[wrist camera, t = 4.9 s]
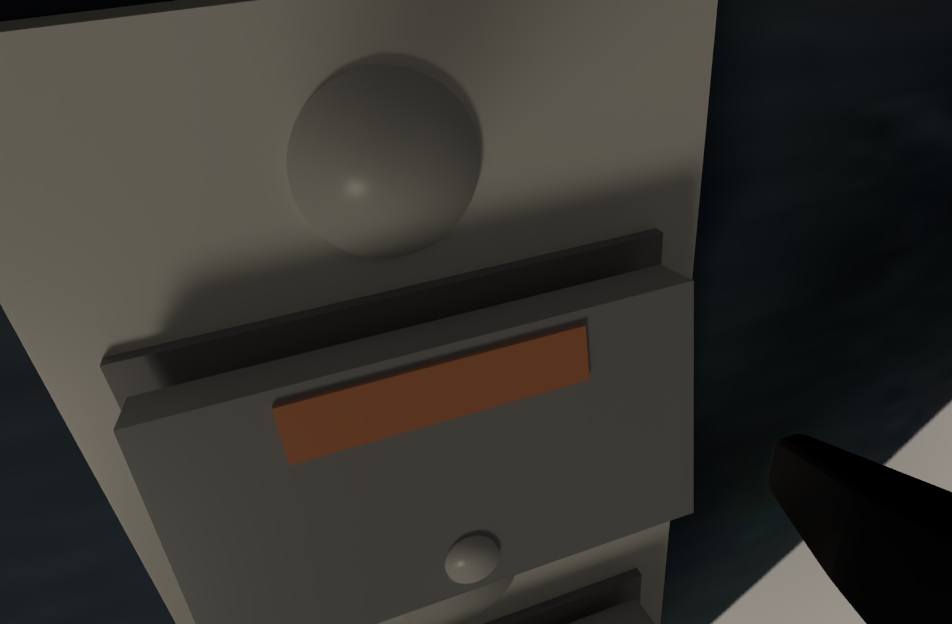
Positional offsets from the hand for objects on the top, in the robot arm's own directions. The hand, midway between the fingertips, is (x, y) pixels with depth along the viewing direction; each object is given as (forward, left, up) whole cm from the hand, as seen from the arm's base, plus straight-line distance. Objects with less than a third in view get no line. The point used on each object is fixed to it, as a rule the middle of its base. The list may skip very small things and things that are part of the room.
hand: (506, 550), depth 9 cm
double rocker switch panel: (-8, 0, -9) cm, 12 cm away
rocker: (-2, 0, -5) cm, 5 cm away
